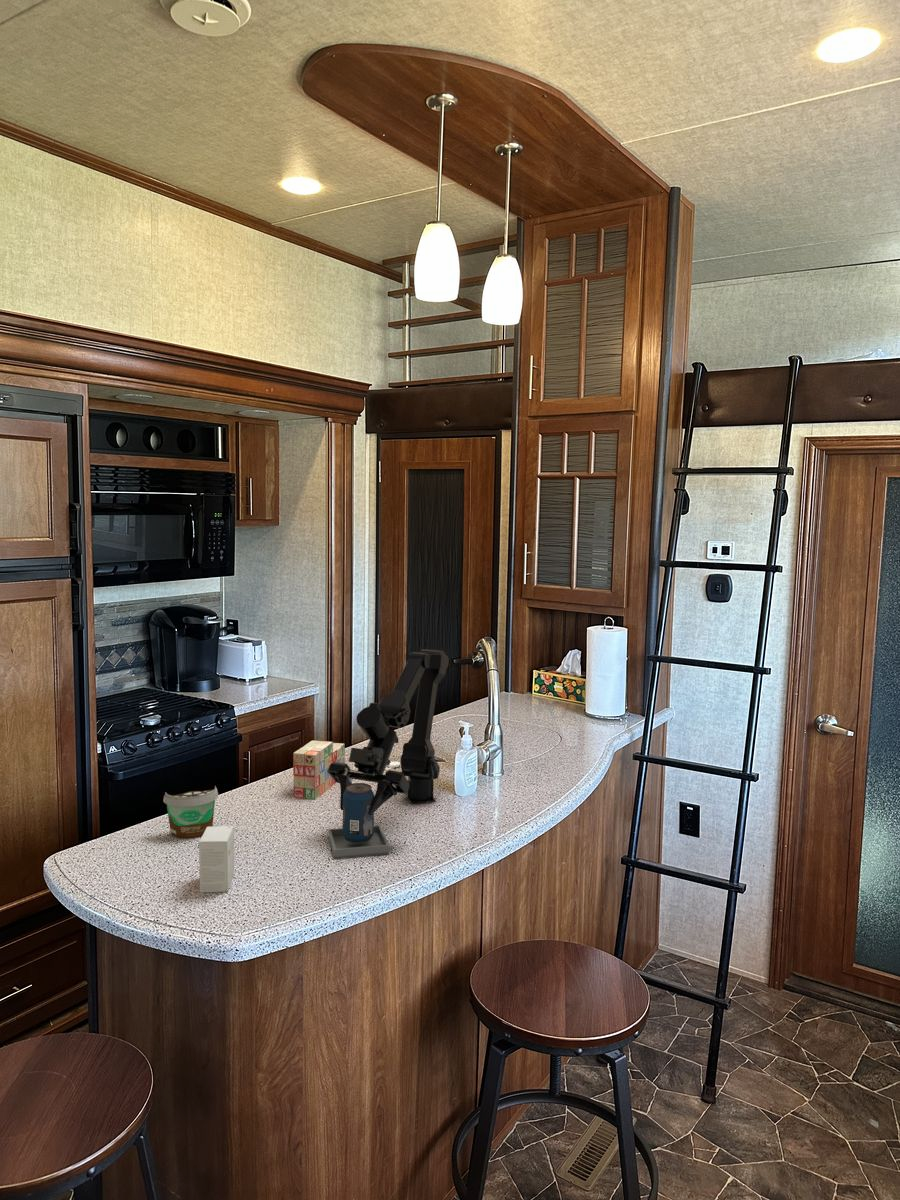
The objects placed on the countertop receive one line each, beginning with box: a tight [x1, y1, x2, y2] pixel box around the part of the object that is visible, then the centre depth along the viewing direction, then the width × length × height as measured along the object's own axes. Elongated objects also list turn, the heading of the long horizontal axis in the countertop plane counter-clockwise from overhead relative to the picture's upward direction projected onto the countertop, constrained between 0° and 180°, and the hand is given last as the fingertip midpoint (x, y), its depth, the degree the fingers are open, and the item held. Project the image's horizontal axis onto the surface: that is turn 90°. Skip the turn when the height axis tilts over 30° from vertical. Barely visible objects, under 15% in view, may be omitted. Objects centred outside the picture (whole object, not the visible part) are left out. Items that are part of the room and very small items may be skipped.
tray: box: [327, 824, 390, 860], centre depth 187 cm, size 12×12×2 cm
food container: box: [162, 785, 219, 840], centre depth 191 cm, size 12×6×10 cm, turn 117°
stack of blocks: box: [292, 740, 346, 801], centre depth 226 cm, size 21×6×12 cm, turn 166°
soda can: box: [342, 782, 375, 844], centre depth 186 cm, size 7×7×12 cm
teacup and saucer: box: [385, 761, 401, 770], centre depth 246 cm, size 9×8×4 cm
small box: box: [198, 825, 236, 893], centre depth 166 cm, size 8×6×10 cm
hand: (355, 811), depth 185 cm, fingers closed on soda can, 7 cm apart
